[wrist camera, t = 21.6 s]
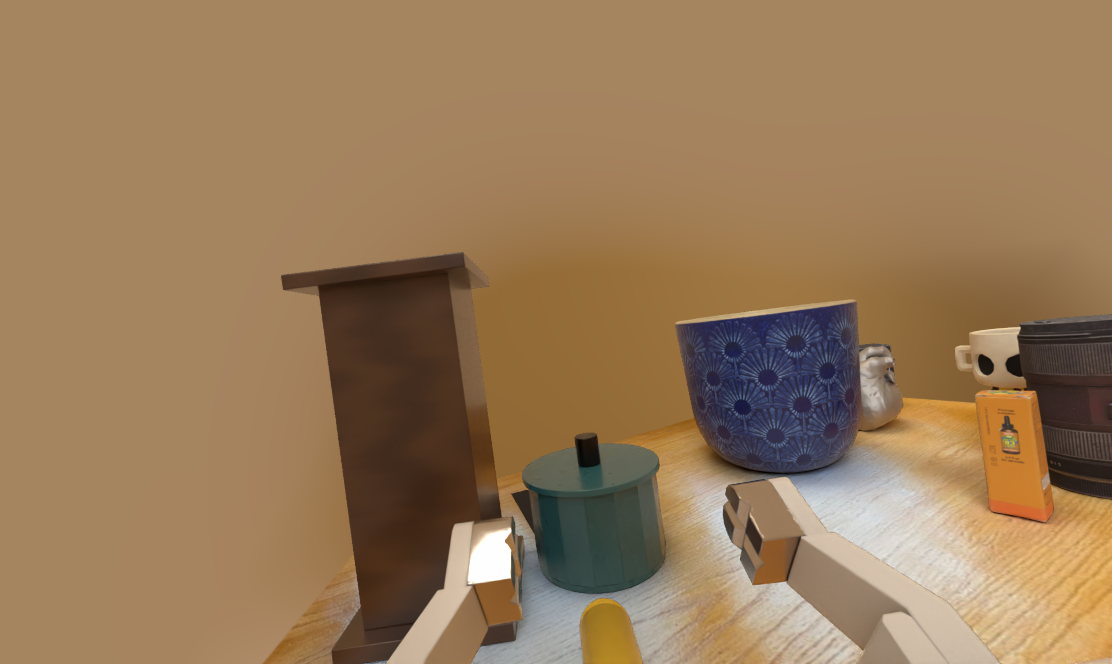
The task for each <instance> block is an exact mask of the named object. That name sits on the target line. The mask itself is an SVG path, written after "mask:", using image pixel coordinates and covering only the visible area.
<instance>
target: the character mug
mask: <svg viewBox="0 0 1112 664" xmlns="http://www.w3.org/2000/svg"><path fill="white" fill-rule="evenodd" d="M1020 329H1021V327H1016V328H1002V329H991V330H982V331H977V332H971V333H970V334H969V340H970V346H958V347H956V349H955V354H956V363H957V367H958V369H959V370H961V371H973V373H974V377H975V378H976V379H977V381H978V382H979V383H981V384H985V385H989V386H993V389H991V390H1007V391H1027V387H1026V380H1025V379H1024V377H1023V373H1022V369H1021V363H1020V355H1019V347H1018V340H1017V335H1018V334H1019V331H1020ZM965 353H971V357H972V364H967V363H966V357H965Z"/></svg>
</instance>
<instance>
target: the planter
mask: <svg viewBox="0 0 1112 664" xmlns="http://www.w3.org/2000/svg"><path fill="white" fill-rule="evenodd" d="M675 328H676V332H677V337H678V342H679V347H680V352H681V357H682V361H683V366H684V371H685V376H686V381H687V386H688V389H689V395H690V400H691V405H692V409H693V413H694V418H695V420H696V423H697V426H698V428H699V430H700V432H701V434H702V436H703V438H704V439H705V441H706V442H707V444H708V445H709V446H710V447H711V448H712V449H713V450H714V451H715V452H716V453H717V454H718V455H719V456H720V457H722V458H723V459H725V460H727V461H729V462H731V463H733V464H735V465H737V466H740V467H744V468H748V469H752V470H758V471H765V472H779V473H787V472H802V471H808V470H813V469H818V468H821V467H824V466H827V465H829V464H831V463H833V462H835V461H836V460H838V459H840V458H841V457H842V456H843V455H844V454H845V453H846V452H847V451H848V450H849V448H850V447H851V446H852V444H853V443H854V441H855V439H856V436H857V433H858V430H859V426H860V422H861V414H862V399H861V378H860V358H859V338H858V317H857V302H856V301H855V300H841V301H832V302H823V303H815V304H806V305H797V306H789V307H781V308H773V309H765V310H758V311H751V312H742V313H735V314H728V315H720V316H713V317H706V318H699V319H692V320H686V321H679V322H676V323H675Z"/></svg>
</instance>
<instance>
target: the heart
mask: <svg viewBox="0 0 1112 664" xmlns="http://www.w3.org/2000/svg"><path fill="white" fill-rule="evenodd" d="M859 358H860V378H861V399H862V414H861V422H860V426H859V430H862V431H868V430H874V429H876V428H878V427H880V426H883V425H885V424H887V423H889V422H890V421H892V420H893V419H895V418H896V417H897V416H898V415H899V413H900V412H901V410H902V408H903V399H902V395H901V393H900V391H899V389H898V387H897V385H896V378H895V376H894V372H893V371H889V370H887V368H889V367H895V365H896V363H895V359H894V358H893V355H892V354H891V352H890V351H889V350H888V349H887V348H886V347H884V346H881V347H872V346H870V347H867V348H865V349H864V350H862V351H861V352H859Z"/></svg>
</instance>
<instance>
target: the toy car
mask: <svg viewBox="0 0 1112 664" xmlns="http://www.w3.org/2000/svg"><path fill="white" fill-rule="evenodd" d="M512 496H513V498H514V499H515V501H516V503H517V504H518V506H519V508H520V510H521V511H522V513H523V515H524V517H525V518H526V520H527V522H528V523H529V525H530V527H531V529H532V530H533V532H534V525H533V517H532V510H531V502H530V495H529V490H525V491H521V492H517V493H512ZM534 533H535V532H534Z"/></svg>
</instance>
